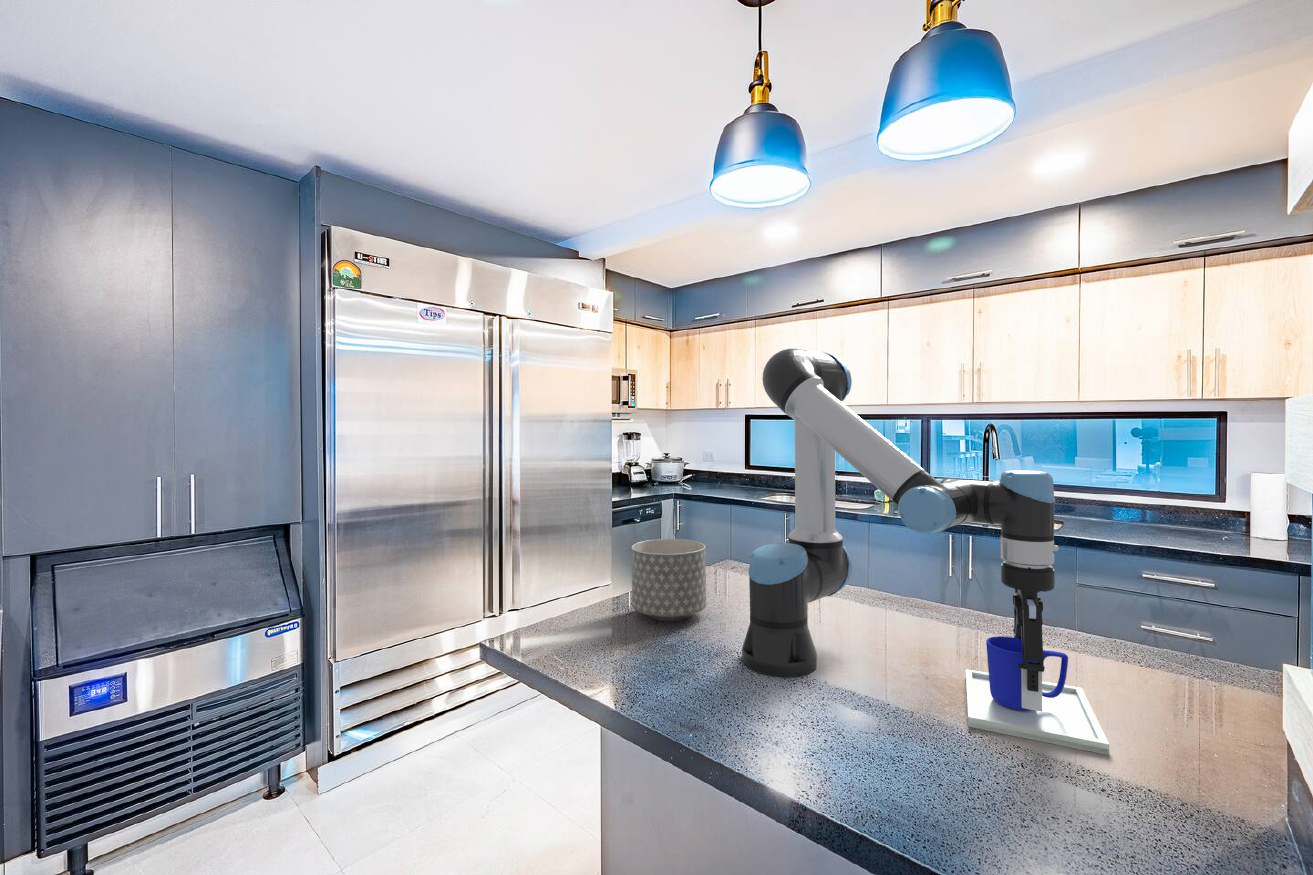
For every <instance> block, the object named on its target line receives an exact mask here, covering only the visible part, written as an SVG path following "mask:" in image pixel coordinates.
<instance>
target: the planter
mask: <svg viewBox="0 0 1313 875" xmlns="http://www.w3.org/2000/svg"><path fill="white" fill-rule="evenodd" d="M706 548H707V547H706V545H705V544H704V543H702V542H699V541H697V540H691V539H684V538H682V539H680V538H658V539H649V540H642V541H639V542H635V543H634V544H632V546H631V589H632V590H631V591H632V592H631V598H632V599H631V601H632V602H631V603H632V608H633V609H634V610H635V611H636V612H638V613H641V614H644V615H646V616H648V617H650V618H652V619H654V620H658V621H661V620H662V622H676V621H677V620H678V621H681V620H683V619H686V618H689V617H691V616H693V615H694V614H697V613H700V612H702V611H703V610H704V609H705V608H706V607H707V569H706V568H707V563H706V562H707V560H706V552H707V551H706Z"/></svg>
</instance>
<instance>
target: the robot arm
mask: <svg viewBox="0 0 1313 875" xmlns="http://www.w3.org/2000/svg"><path fill="white" fill-rule="evenodd" d="M852 382H853V378H852V374H851V371H850V369H849V367H848V365H847V364H846V363H845V361H844V360H842V359H841V358H840V357H838V356H837V355H834V354H831V353H828V352H826V351H815V350H807V349H806V350H805V349H799V348H787V349H783V350H780V351H777V352H776V353H775V354H773V355H772V356H771V357H770V358H769V359H768V360H767V361H766V364H765V365H764V368H763V371H762V386H763V388H764V391H765V393H766V395H767V397H768V398H769V399H770V401H771V402H773V404H774V405H775V406H777V407H778V409H779V410H781V411H782V412H783V413H784V414H785V415H786V416H788V417H789V418H791V419H792V420H793V421H794V490H795V491H794V492H795V495H794V496H795V497H794V498H795V499H794V500H795V501H794V502H795V503H794V504H795V505H794V507H795V511H794V512H795V513H794V515H795V516H794V517H795V519H794V520H795V521H794V522H795V523H794V524H795V527H794V529H792V531H791V532H790V533H789V534H788V542H777V543H774V544H772V543H770V544H765V545H762V546H760V547H757V548H755V549H754V550H753V551H752V552H751V554H750V557H749V567H748V576H749V577H748V578H749V582H748V584H749V586H748V587H749V625H748V627H747V631H746V635H745V638H744V641H743V644H742V647H741V660H742V663H743V664H744V666H746V667H747V668H749V669H750V670H752V671H754V672H757V673H760V674H762V675H768V676H774V677H783V678H784V677H788V678H789V677H797V676H803V675H804V676H805V675H807V674H810V673H811V672H813V671H814V670H816V668H817V667H818V654H817V649H816V646H815V644H814V641H813V637H812V635H811V631H810V629H809V625H808V623H809V622H808V620H809V619H808V618H809V616H808V614H809V613H808V612H809V611H808V610H809V609H808V608H809V607H808V605H809V604H810V603H812V602H815V601H817V600H820V599H823V598H825V597H830V596H833V595H835V594H837V593H838V592H839V591H841V590H842V589H843V588H845V587H846V586H847V584H848V583H849V582H850V581H851V579H852V578H851V577H852V574H853V560H852V557H851V555H850V554H851V553H850V552H848V551H847V548H846V547H845V546H844V538H843V536H842V535H841V534H840V532H838V531H837V529H836V453H837V454H839V456H840V457H841V458H843V459H844V460H845V461H846V462H847V463H848V464H850V465H851V466H852V467H853V468H854V469H855V470H857V471H858V472H859V473H860V475H862V476H863V477H865V479H866V480H868V481H869V482H870V483H871V484H872V485H873V486H874V487H876V488H877V489H878V490H879V491H880V492H882V493H883V495H885V496H886V498H888V499H889V500H890V501H891V502H892V503H894V504H895V505H896V506H897V511H898V515H899V517H900V519H901V521H902V523H903V524H904V525H905V526H906V527H907V528H908V529H910V530H911V531H913V532H916V533H920V534H931V533H940V532H943V531H945V530H946V529H949V528H951V527H955V526H959V525H962V524H966V523H975V524H985V525H986V524H987V525H998V526H1000V530H1001V531H1000V559H1002V560H1003V561H1002V562H1001V564H1000V565H1001V566H1000V572H1001V573H1000V575H1001V576H1000V578H1001V579H1000V582H1001V583H1002V584H1003V585H1004V586H1006V587H1008V588H1010V589H1014V593H1013V594H1012V605H1013V615H1014V616H1013V618H1014V619H1013V629H1012V631H1013V634H1014V635H1013V638H1018V639H1022V655H1023V663H1022V664H1019V663H1018V668H1021V690H1022V708H1025V709H1031V710H1036V711H1042V681H1043V673H1044V672H1045V669H1046V668H1045V666H1044V665H1045V664H1044V663H1045V660H1044V661H1043V650H1044V643H1043V642H1044V641H1043V625H1044V624H1043V610H1044V602H1043V601H1042V600H1041V596H1038V594H1039V593H1041V592H1043V593H1046V592H1050V591H1053V590H1054V588H1055V586H1056V585H1055V582H1056V580H1055V574H1056V573H1055V572H1056V571H1055V568H1054V567H1053V566H1052V565H1053V564H1055V553H1054V552H1058V551H1059V548H1060V547H1059V546H1058V545H1056V544H1055V509H1056V508H1055V507H1056V506H1055V505H1056V498H1055V489H1054V478H1053V476H1052V475H1051V474H1050V473H1049V472H1045V471H1039V470H1018V469H1017V470H1015V469H1014V470H1005V471H1003V472H1001V474H1000V479H999V480H996V481H987V480H986V481H985V480H972V479H971V480H970V479H960V478H959V479H958V478H953V477H952V478H951V477H949V478H935V477H934V476H932V475H931V474H930V473H928V472H927V471H926V470H925V469H924V468H923V467H921V466H920V465H919V464H918V463H917V462H915V461H914V460H913V459H912V458H911V457H909V455H907V454H906V453H905V452H903V451H902V449H901V450H900V449H899V448H898V447H897V446H896V445H895V444H893V443H892V441H890V440H889V439H887V438H886V437H885V436H883V434H881V433H880V432H879V431H877V429H874V427H872V425H870V424H869V423H867V422H866V421H865V420H864V419H863V418H861V417H860V416H859V415H858V414H857V413H856V412H855V411H853V410H852V409H850V408H849V407H848V406H847V405H845V404H844V403H843V401H844V400H846V398H847V396H849V394H850V392H851V389H852V385H853V384H852ZM1029 661H1034V662H1037V663H1034V662H1029Z"/></svg>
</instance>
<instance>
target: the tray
mask: <svg viewBox="0 0 1313 875" xmlns="http://www.w3.org/2000/svg"><path fill="white" fill-rule="evenodd" d="M1057 684H1058V683H1055V682H1054V683H1053V682H1049V681H1044V680H1042V692H1046V693H1048V692H1051V691H1053V690H1054V689H1055V688H1056V686H1057ZM965 689H966V707H967V710H966V711H967V727H968V728H971V729H978V730H982V731H988V732H993V733H998V734H1003V735H1008V736H1011V737H1012V736H1013V737H1018V738H1022V739H1026V740H1027V739H1028V740H1031V741H1032V740H1033V741H1038V742H1042V743H1046V744H1053V745H1057V746H1061V747H1062V746H1063V747H1067V748H1073V749H1078V750H1083V751H1087V752H1091V753H1097V754H1103V755H1106V756H1109V755H1110V743H1109V741H1108V739H1107V737H1106V735H1105V733H1104V731H1103V729H1102V727H1101V724H1100V722H1099V720H1098V719H1097V716H1096V715H1095V714H1096V713H1094V710H1093V708H1092V706H1091V704H1090V702H1089V700H1088V698H1087V696H1086V694H1085V692H1084V689H1083V687H1080V686H1073V685H1066V684H1065V685H1064V688H1063V690H1062V692H1061V694H1060V695H1058V696H1057V697H1055V698H1047V697H1044V696H1042V711H1036V710H1016V709H1012V708H1008V707H1005V706H1003V705H1001V704H999V703H998V702H996V701H995V700H994V699H993V697H992V696H991V692H990V684H989V672H986V671H979V670H975V669H974V670H973V669H967V668H966V669H965Z"/></svg>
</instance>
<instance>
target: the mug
mask: <svg viewBox="0 0 1313 875" xmlns="http://www.w3.org/2000/svg"><path fill="white" fill-rule="evenodd" d="M985 642H986V644H985V645H986V655H987V656H986V657H987V667H988V668H987V671H988V673H989V684H990V692H991V696H992V697H993V699H994V700H995V701H996V702H998V703H999V704H1001V705H1003V706H1005V707H1008V708H1012V709H1016V710H1031V709H1025V708H1022V690H1021V668H1018V663H1019V664H1022V663H1023V655H1022V639H1018V638H1014V636H1013V637H1012V636H1003V635H1002V636H1000V635H999V636H991V637H988V638H986V640H985ZM1048 657H1056V658H1061V661H1060V671H1059V677H1058V680H1057V683H1056V684H1057V686H1056V688H1055V689H1054V690H1053V691H1051V692H1048V693H1046V692H1042V696H1044V697H1047V698H1055V697H1057V696H1058V695H1060V694H1061V692H1062V690H1063V688H1064V685H1066V684H1065V683H1066V680H1067V674H1068V664H1069V656H1068V655H1067V654H1066V653H1064V652H1061V651H1053V650H1044V649H1043V661H1044V662H1045V660H1046V659H1047V658H1048ZM1029 662H1034V661H1029ZM1034 663H1037V662H1034Z"/></svg>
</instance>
